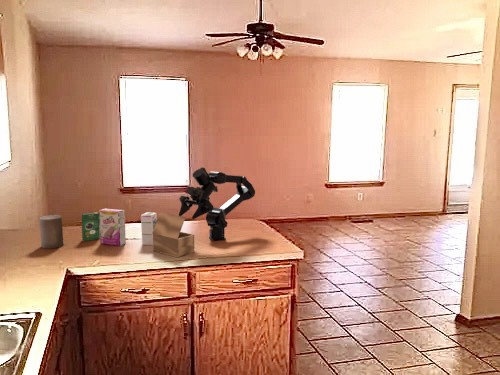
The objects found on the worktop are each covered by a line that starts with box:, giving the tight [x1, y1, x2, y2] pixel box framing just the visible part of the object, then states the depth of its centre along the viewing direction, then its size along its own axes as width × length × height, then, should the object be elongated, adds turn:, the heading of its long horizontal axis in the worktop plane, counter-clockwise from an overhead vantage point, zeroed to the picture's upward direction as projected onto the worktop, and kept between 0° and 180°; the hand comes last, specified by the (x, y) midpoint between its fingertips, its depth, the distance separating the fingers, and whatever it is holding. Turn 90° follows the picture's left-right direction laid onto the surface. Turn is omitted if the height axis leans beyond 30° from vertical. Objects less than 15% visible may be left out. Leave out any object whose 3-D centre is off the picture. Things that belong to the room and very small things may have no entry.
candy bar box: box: [98, 208, 127, 247], centre depth 230 cm, size 11×5×16 cm, turn 71°
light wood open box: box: [152, 231, 196, 258], centre depth 219 cm, size 10×16×8 cm, turn 51°
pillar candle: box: [39, 213, 64, 249], centre depth 227 cm, size 10×10×15 cm
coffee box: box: [81, 211, 100, 242], centre depth 239 cm, size 8×3×13 cm, turn 129°
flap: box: [152, 211, 186, 239], centre depth 215 cm, size 10×16×1 cm
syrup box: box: [140, 211, 158, 246], centre depth 232 cm, size 6×6×14 cm
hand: (185, 217), depth 224 cm, fingers open, 9 cm apart
